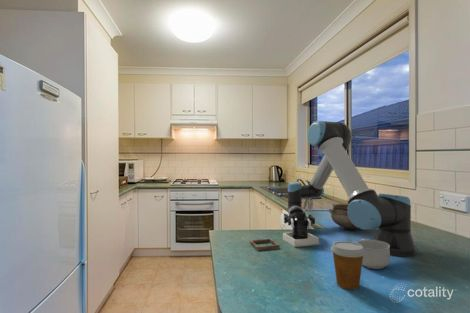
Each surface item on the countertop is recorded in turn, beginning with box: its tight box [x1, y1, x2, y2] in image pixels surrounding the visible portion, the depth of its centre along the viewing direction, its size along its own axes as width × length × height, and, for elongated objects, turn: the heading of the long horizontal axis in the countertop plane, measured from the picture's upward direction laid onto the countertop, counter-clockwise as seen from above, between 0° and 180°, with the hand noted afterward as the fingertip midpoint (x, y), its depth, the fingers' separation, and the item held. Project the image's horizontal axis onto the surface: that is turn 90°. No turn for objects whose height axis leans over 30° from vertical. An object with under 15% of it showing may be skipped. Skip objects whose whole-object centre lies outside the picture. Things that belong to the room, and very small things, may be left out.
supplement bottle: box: [292, 211, 309, 240], centre depth 128 cm, size 7×7×12 cm
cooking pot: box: [327, 202, 359, 231], centre depth 152 cm, size 25×19×12 cm
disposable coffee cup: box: [330, 240, 365, 291], centre depth 85 cm, size 10×10×12 cm
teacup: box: [356, 238, 391, 270], centre depth 101 cm, size 14×11×8 cm
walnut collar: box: [249, 238, 281, 252], centre depth 122 cm, size 10×10×2 cm
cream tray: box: [282, 231, 320, 248], centre depth 128 cm, size 12×12×3 cm
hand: (301, 224), depth 123 cm, fingers closed on supplement bottle, 7 cm apart
